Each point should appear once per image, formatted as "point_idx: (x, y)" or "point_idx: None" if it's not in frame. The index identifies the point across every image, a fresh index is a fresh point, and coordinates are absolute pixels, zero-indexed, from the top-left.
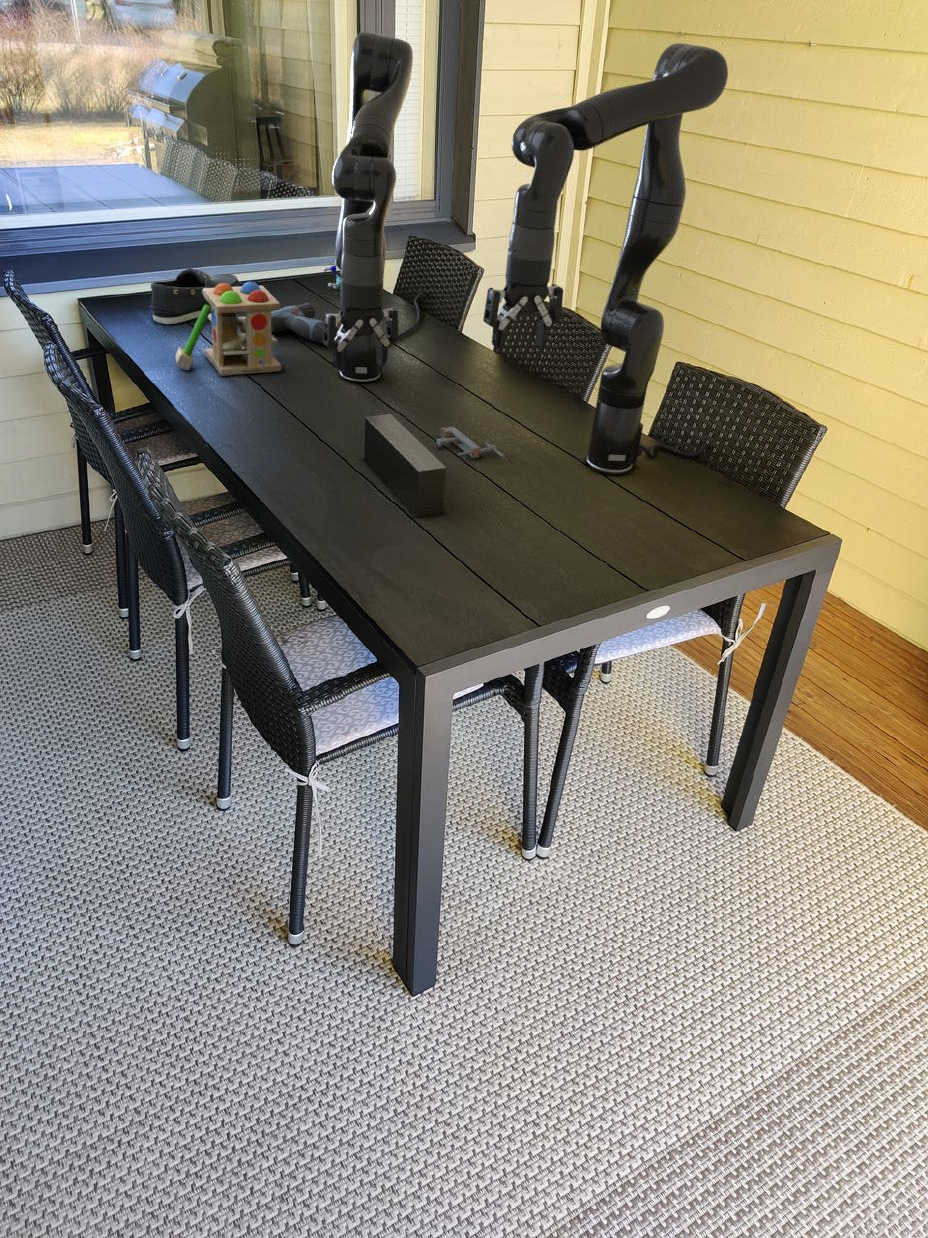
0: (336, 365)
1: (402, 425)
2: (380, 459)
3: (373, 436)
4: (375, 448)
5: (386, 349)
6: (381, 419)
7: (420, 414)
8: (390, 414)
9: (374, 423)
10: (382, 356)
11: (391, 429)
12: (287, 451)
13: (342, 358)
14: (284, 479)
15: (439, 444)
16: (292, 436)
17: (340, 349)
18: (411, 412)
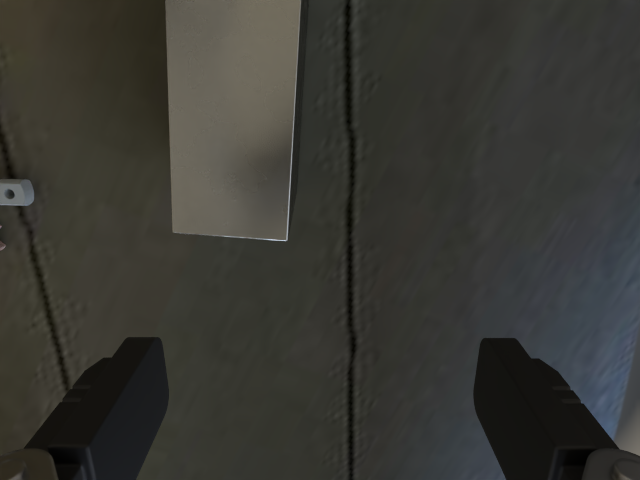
0: (553, 371)
1: (169, 102)
2: (302, 60)
3: (295, 140)
4: (298, 113)
5: (47, 437)
6: (234, 193)
7: (16, 399)
8: (175, 227)
9: (281, 165)
10: (123, 379)
11: (236, 78)
12: (469, 316)
13: (537, 397)
14: (571, 162)
15: (28, 183)
16: (412, 388)
17: (627, 463)
18: (38, 417)
